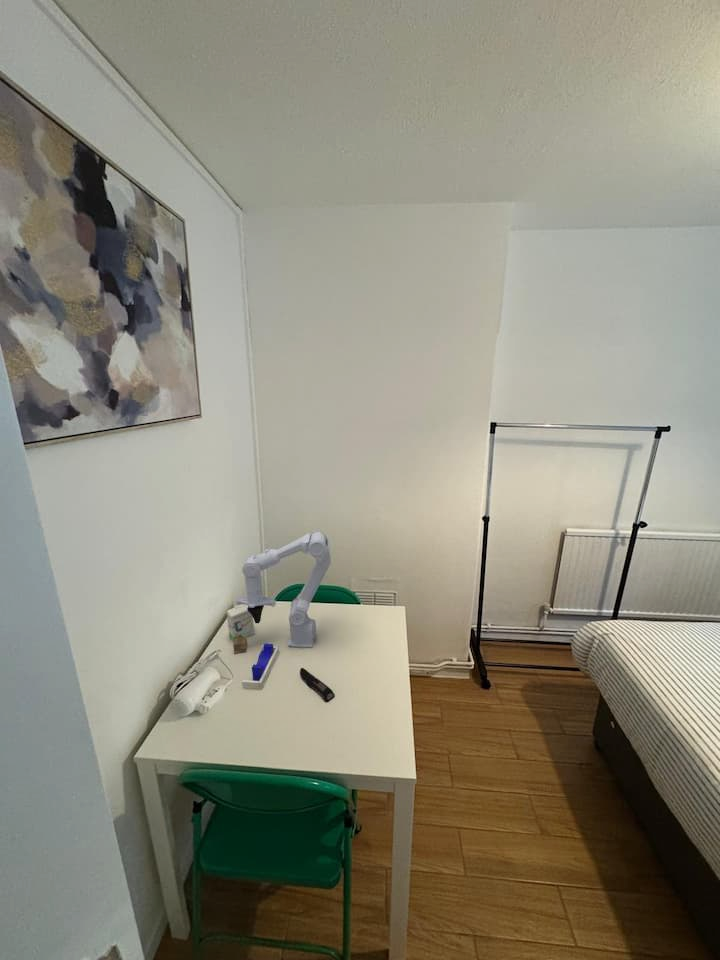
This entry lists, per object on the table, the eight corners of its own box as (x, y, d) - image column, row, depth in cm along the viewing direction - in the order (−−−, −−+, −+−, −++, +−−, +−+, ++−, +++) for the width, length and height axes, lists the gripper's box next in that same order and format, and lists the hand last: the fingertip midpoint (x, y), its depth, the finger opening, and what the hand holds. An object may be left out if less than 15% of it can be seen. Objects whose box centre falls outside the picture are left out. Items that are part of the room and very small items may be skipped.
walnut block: (247, 645, 142) (246, 636, 141) (245, 652, 138) (244, 643, 137) (236, 647, 142) (235, 637, 141) (234, 654, 138) (233, 644, 137)
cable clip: (262, 657, 136) (260, 643, 134) (274, 658, 135) (272, 643, 134) (249, 682, 124) (247, 667, 123) (262, 683, 124) (260, 668, 122)
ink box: (250, 628, 153) (247, 602, 150) (255, 634, 149) (252, 607, 146) (229, 637, 148) (225, 610, 145) (234, 643, 144) (230, 616, 141)
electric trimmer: (306, 672, 128) (306, 664, 128) (335, 697, 117) (335, 688, 117) (297, 678, 126) (296, 670, 125) (326, 704, 115) (325, 695, 114)
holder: (279, 652, 138) (278, 646, 137) (261, 689, 121) (260, 683, 121) (262, 651, 139) (261, 645, 138) (242, 688, 122) (241, 681, 121)
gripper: (230, 594, 135) (234, 627, 138) (269, 595, 133) (272, 629, 136) (239, 584, 142) (243, 616, 145) (276, 585, 140) (279, 617, 143)
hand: (257, 621), depth 141 cm, fingers closed
